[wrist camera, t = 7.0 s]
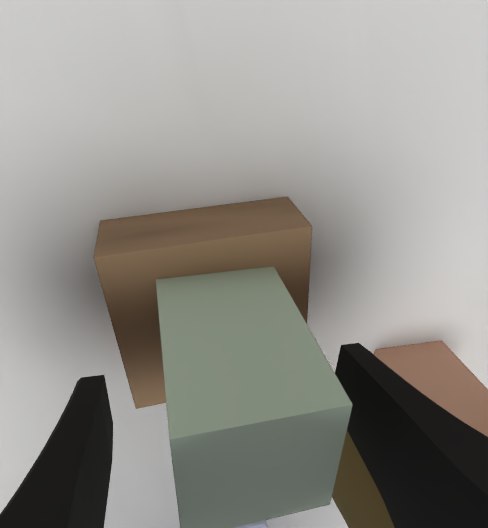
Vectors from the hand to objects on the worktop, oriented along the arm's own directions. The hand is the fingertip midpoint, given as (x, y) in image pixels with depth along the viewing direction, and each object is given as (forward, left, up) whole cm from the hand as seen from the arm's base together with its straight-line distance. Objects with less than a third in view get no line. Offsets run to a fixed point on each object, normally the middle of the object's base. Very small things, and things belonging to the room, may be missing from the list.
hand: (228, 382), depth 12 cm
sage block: (0, 0, -3) cm, 3 cm away
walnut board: (0, 0, -6) cm, 6 cm away
